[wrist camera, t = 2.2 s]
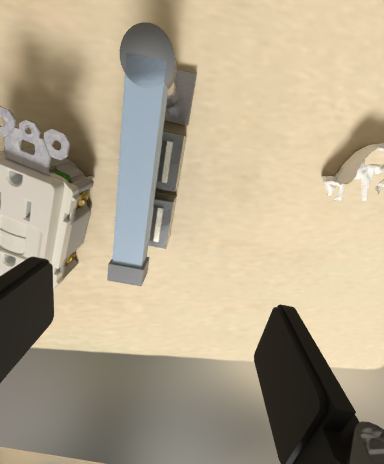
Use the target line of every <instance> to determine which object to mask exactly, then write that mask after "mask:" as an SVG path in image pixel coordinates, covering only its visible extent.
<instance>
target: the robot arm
mask: <svg viewBox="0 0 384 464" xmlns="http://www.w3.org/2000/svg"><path fill="white" fill-rule="evenodd" d="M53 317H54V298H53V266H52V264H50V263H49V261H48V260H47V259H44V258H38V257H29V258H28V259H26V260H25V261H23V262H21V263H20V264H18V265H17V266H15V267H14V268H12V269H10V270H9V271H7V272H6V273H4V274H3V275H1V276H0V383H1V382H2V380H3V379H4V378H5V377H6V375H7V374H8V373H9V372H10V371H11V370H12V368H13V367H14V366H15V365H16V364H17V363H18V362H19V360H20V359H21V358H22V357H23V356H24V355H25V353H26V352H27V351H28V350H29V349H30V348H31V346H32V345H33V344H34V343H35V342H36V340H37V339H38V338H39V337H40V336H41V335H42V333H43V332H44V331H45V330H46V329H47V328H48V326H49V325H50V324H51V322H52V320H53ZM254 362H255V366H256V370H257V374H258V378H259V382H260V386H261V390H262V394H263V398H264V402H265V406H266V410H267V414H268V417H269V422H270V426H271V430H272V434H273V438H274V442H275V446H276V450H277V454H278V458H279V461H280V463H281V464H384V429H382V428H381V427H379V426H377V425H375V424H372V423H370V422H359V421H358V419H357V417H356V416H355V413H356V411H355V410H354V408H353V406H352V405H351V403H350V401H349V400H348V398H347V396H346V395H345V393H344V391H343V389H342V388H341V386H340V384H339V382H338V381H337V379H336V377H335V376H334V374H333V372H332V371H331V369H330V367H329V365H328V364H327V362H326V360H325V359H324V357H323V355H322V353H321V352H320V350H319V348H318V347H317V345H316V343H315V342H314V340H313V338H312V336H311V335H310V333H309V331H308V330H307V328H306V326H305V324H304V323H303V321H302V319H301V318H300V316H299V314H298V313H297V311H296V309H295V308H294V307H290V306H285V305H278V307H274V308H273V310H272V312H271V315H270V317H269V320H268V322H267V325H266V327H265V329H264V332H263V334H262V337H261V339H260V341H259V344H258V346H257V349H256V351H255V354H254ZM0 464H104V463H97V462H91V461H84V460H79V459H72V458H66V457H60V456H54V455H48V454H41V453H35V452H28V451H21V450H15V449H9V448H3V447H0Z"/></svg>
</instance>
